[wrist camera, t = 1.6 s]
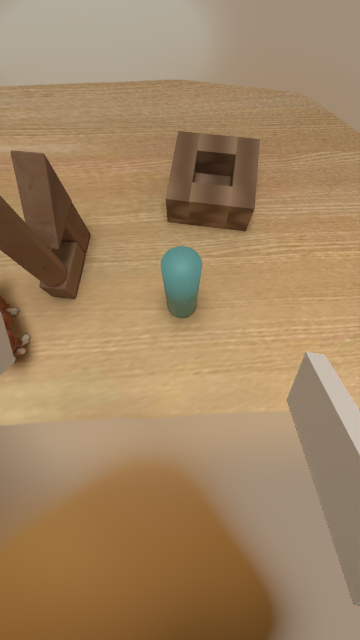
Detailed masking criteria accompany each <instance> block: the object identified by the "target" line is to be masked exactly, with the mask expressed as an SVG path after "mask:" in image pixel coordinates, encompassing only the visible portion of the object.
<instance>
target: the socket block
mask: <svg viewBox="0 0 360 640" xmlns="http://www.w3.org/2000/svg"><path fill="white" fill-rule="evenodd" d="M259 143H260V139H252V138H242V137H232V136H222V135H212V134H202V133H192V132H182V131H178V136H177V141H176V147H175V152H174V158H173V163H172V168H171V174H170V179H169V185H168V190H167V195H166V206H167V217H168V222H174V223H182V224H191V225H199V226H208V227H217V228H225V229H234V230H242V231H246V229H247V226H248V224H249V221H250V218H251V216H252V213H253V211H254V206H255V193H256V181H257V168H258V155H259Z"/></svg>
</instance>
